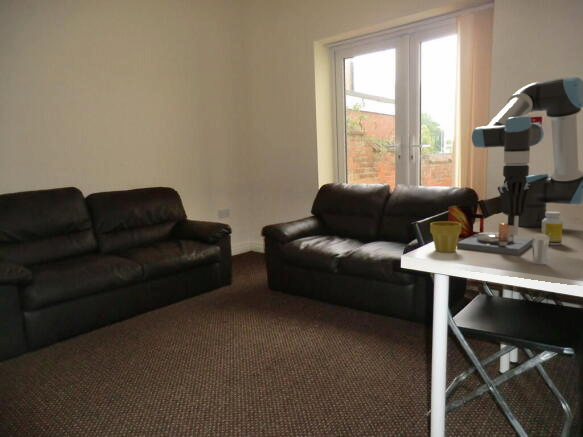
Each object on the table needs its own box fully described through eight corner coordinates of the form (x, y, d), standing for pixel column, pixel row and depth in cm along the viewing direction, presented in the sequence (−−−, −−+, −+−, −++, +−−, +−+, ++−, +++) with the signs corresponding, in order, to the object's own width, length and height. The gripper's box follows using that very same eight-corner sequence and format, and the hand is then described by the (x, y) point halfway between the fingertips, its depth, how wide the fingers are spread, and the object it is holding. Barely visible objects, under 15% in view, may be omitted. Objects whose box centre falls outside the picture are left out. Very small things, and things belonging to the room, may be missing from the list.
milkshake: (543, 266, 125) (545, 233, 124) (527, 262, 130) (528, 230, 129) (554, 264, 127) (556, 232, 126) (537, 261, 132) (539, 229, 130)
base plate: (475, 239, 168) (475, 233, 167) (532, 244, 155) (532, 238, 154) (456, 248, 153) (457, 242, 152) (518, 255, 140) (518, 248, 139)
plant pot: (424, 251, 149) (425, 224, 148) (436, 246, 157) (437, 220, 155) (454, 255, 142) (455, 226, 141) (465, 249, 150) (465, 222, 149)
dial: (473, 237, 160) (474, 216, 159) (507, 237, 158) (508, 216, 157) (485, 247, 143) (486, 224, 142) (523, 247, 141) (524, 224, 140)
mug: (482, 239, 166) (484, 209, 165) (446, 237, 173) (446, 208, 171) (485, 235, 175) (486, 206, 173) (450, 233, 181) (450, 205, 180)
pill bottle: (564, 245, 152) (566, 213, 150) (544, 245, 153) (546, 213, 152) (557, 241, 158) (559, 211, 157) (538, 241, 160) (539, 211, 158)
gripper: (521, 163, 146) (517, 231, 149) (492, 165, 141) (489, 234, 145) (540, 163, 139) (536, 234, 142) (510, 165, 134) (507, 238, 138)
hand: (512, 234), depth 144 cm, fingers closed
